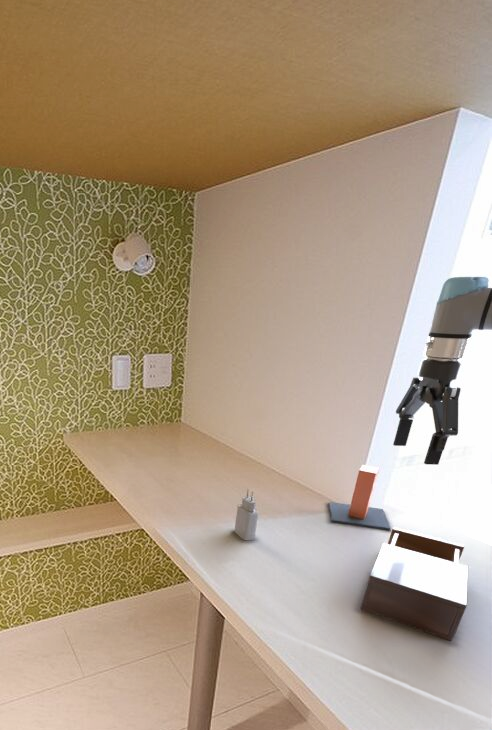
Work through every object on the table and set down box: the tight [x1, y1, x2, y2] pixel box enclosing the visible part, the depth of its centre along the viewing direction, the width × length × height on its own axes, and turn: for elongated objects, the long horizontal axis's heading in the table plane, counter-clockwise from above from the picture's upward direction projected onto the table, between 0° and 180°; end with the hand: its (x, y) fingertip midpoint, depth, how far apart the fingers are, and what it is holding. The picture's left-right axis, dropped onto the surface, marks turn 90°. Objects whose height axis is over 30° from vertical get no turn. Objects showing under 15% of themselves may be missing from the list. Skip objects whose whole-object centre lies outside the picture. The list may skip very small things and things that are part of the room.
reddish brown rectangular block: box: [348, 464, 380, 519], centre depth 114 cm, size 5×4×13 cm
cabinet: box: [360, 542, 469, 642], centre depth 82 cm, size 15×15×8 cm
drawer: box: [387, 526, 465, 564], centre depth 92 cm, size 18×13×6 cm
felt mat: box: [328, 501, 392, 531], centre depth 117 cm, size 14×12×1 cm
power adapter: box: [234, 488, 259, 541], centre depth 105 cm, size 3×5×12 cm, turn 20°
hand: (414, 454), depth 101 cm, fingers open, 13 cm apart
